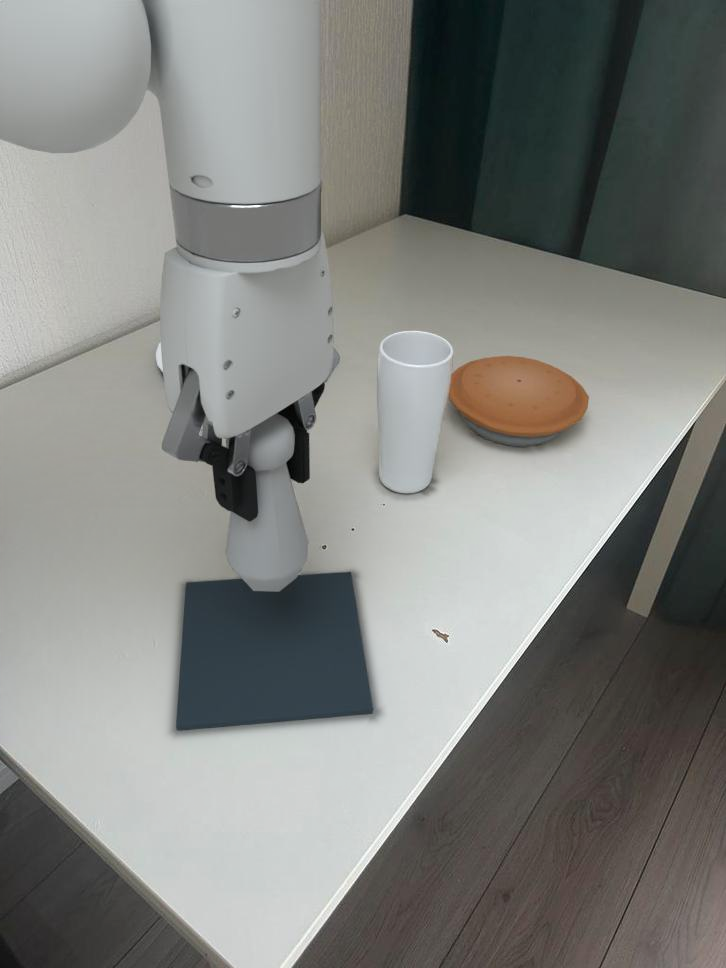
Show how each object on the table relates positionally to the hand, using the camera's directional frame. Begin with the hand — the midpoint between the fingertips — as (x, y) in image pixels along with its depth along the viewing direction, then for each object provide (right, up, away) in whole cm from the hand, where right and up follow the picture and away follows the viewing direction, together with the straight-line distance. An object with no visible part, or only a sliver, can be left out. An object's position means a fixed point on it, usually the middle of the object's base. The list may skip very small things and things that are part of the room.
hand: (263, 489), depth 51 cm
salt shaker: (0, -6, +5) cm, 8 cm away
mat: (-1, -12, +10) cm, 16 cm away
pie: (+23, +8, +37) cm, 44 cm away
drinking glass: (+11, +1, +27) cm, 29 cm away
